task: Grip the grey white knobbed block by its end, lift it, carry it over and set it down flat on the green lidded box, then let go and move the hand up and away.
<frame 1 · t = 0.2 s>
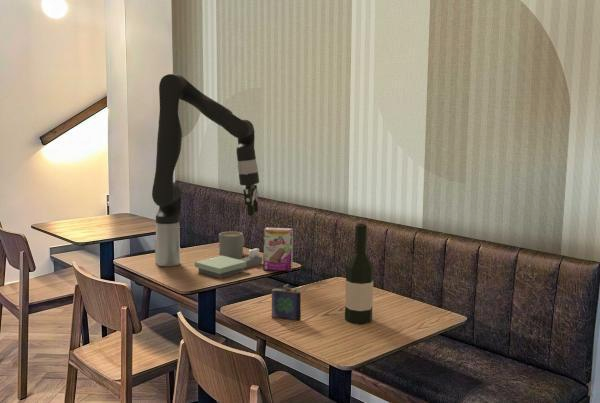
hand: (253, 213, 236), 22 cm above the table, tool pointing down, fingers open, 8 cm apart
grey white knobbed block: (248, 266, 246), on the table
green lidded box: (220, 271, 236), on the table
candy bar box: (278, 270, 240), on the table
coffee mug: (234, 256, 260), on the table
wine bottle: (358, 320, 185), on the table
flask: (286, 319, 186), on the table
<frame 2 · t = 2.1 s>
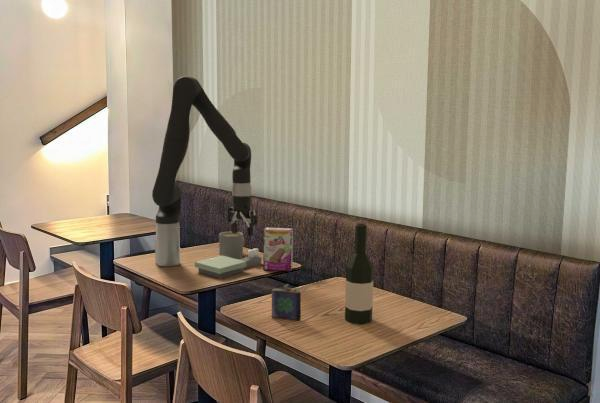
hand: (242, 234, 241), 13 cm above the table, tool pointing down, fingers open, 8 cm apart
nothing on the table moved.
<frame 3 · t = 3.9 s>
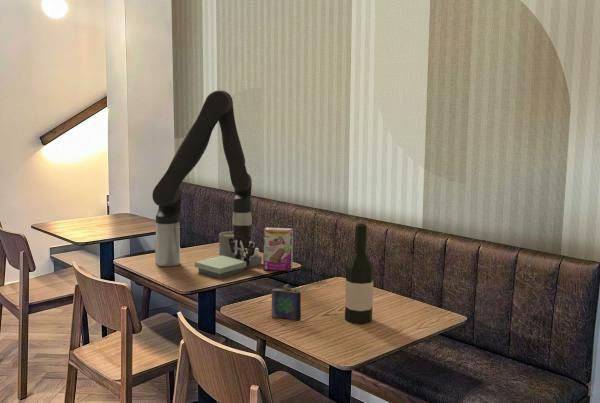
hand: (242, 264, 243), 1 cm above the table, tool pointing down, fingers closed on grey white knobbed block, 4 cm apart
grey white knobbed block: (247, 265, 245), on the table, touching gripper
everything else where it was.
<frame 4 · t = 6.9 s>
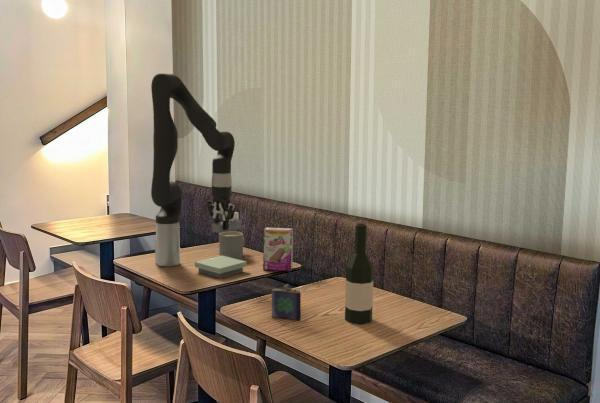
hand: (221, 228, 233), 17 cm above the table, tool pointing down, fingers closed on grey white knobbed block, 4 cm apart
grey white knobbed block: (226, 230, 236), point 16 cm above the table, touching gripper
everything else where it was.
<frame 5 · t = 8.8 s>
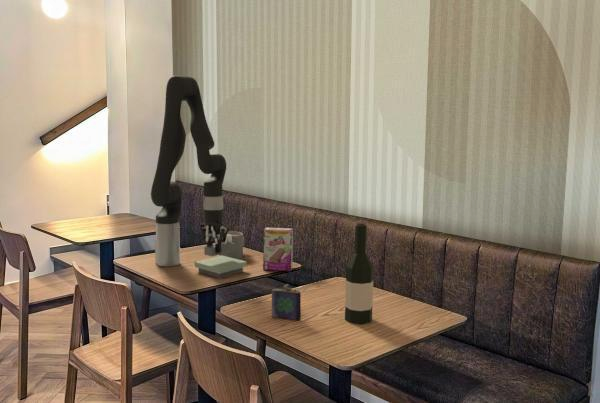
hand: (214, 251, 232), 9 cm above the table, tool pointing down, fingers closed on grey white knobbed block, 4 cm apart
grey white knobbed block: (219, 252, 234), point 8 cm above the table, touching gripper
everything else where it was.
when the fingers open (6 cm above the table, at t = 10.1 s): grey white knobbed block drops 1 cm, resting on green lidded box.
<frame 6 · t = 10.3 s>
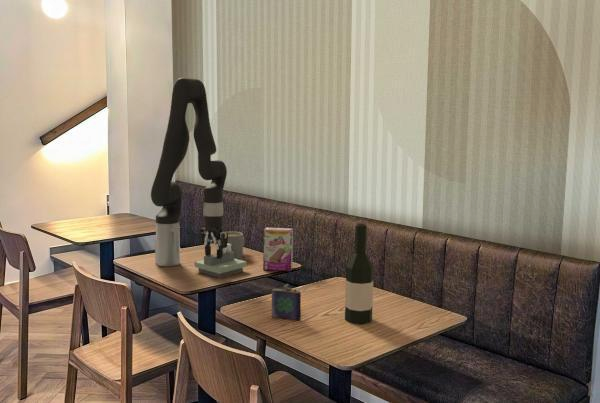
hand: (213, 256, 232), 7 cm above the table, tool pointing down, fingers open, 6 cm apart
grey white knobbed block: (219, 262, 235), point 4 cm above the table, touching green lidded box
everything else where it was.
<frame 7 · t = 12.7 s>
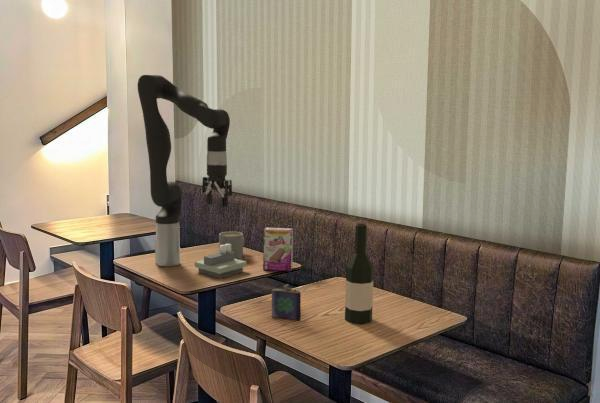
hand: (217, 205, 231), 26 cm above the table, tool pointing down, fingers open, 8 cm apart
nothing on the table moved.
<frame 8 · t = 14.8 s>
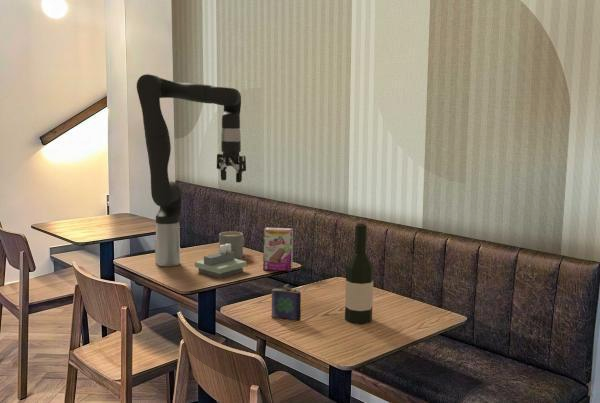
hand: (231, 181, 240), 34 cm above the table, tool pointing down, fingers open, 8 cm apart
nothing on the table moved.
at the end: grey white knobbed block inside the target area on the green lidded box (0.6 cm from its centre), point 4.0 cm above the green lidded box's base; grey white knobbed block tilted 0°; the gripper is holding nothing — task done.
